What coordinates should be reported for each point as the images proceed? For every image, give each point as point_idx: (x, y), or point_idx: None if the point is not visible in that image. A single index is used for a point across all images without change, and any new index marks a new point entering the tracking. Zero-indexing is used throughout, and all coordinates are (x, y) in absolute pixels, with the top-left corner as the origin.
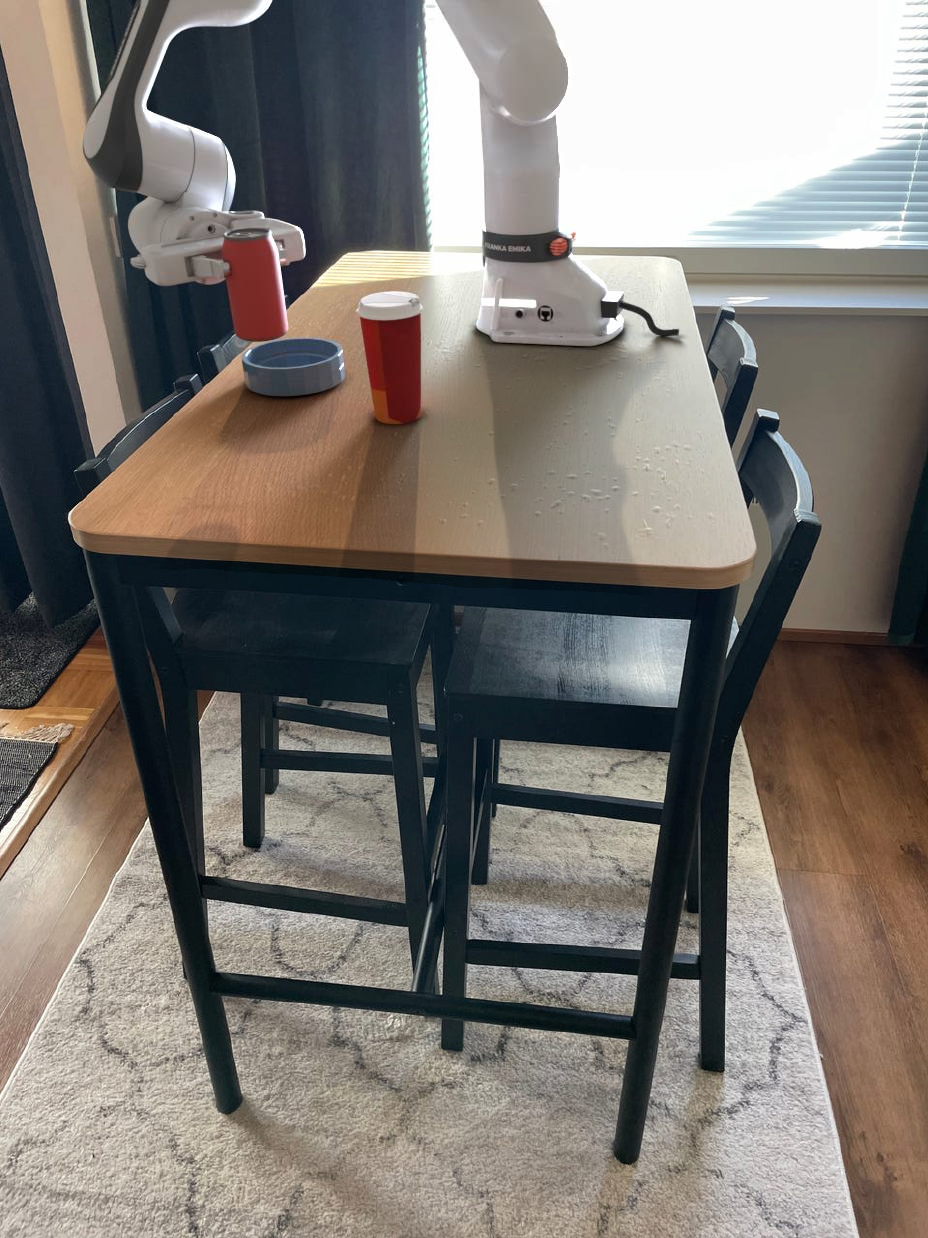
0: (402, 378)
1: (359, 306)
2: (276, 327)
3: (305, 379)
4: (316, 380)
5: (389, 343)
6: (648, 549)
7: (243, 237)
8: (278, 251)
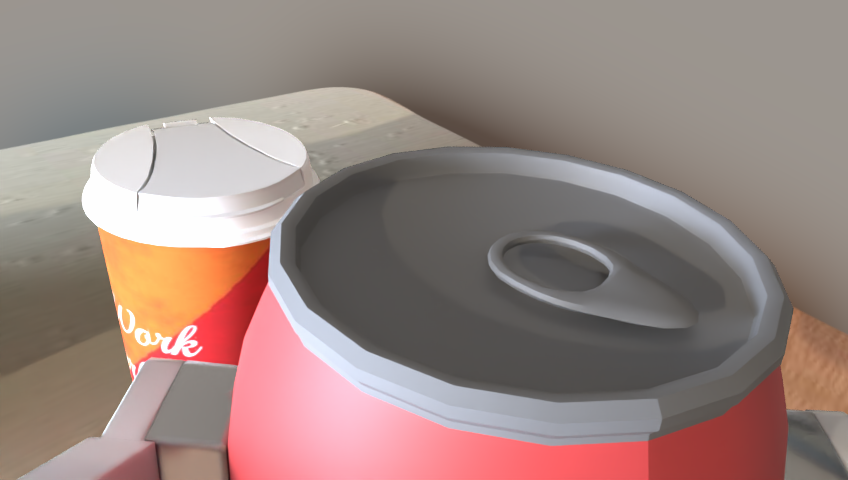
0: None
1: (284, 200)
2: None
3: None
4: None
5: None
6: (383, 114)
7: (633, 174)
8: (237, 367)
